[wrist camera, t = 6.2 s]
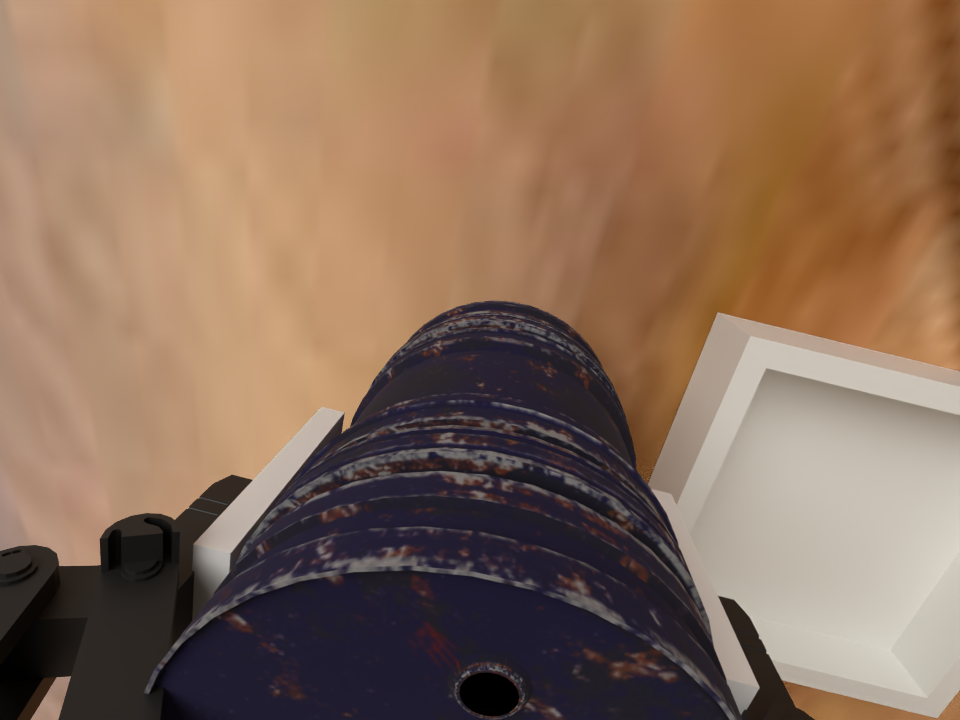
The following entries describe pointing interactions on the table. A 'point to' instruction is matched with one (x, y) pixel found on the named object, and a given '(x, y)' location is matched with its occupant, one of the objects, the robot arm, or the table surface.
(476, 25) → the table surface
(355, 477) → the dark blue canister
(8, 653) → the robot arm
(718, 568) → the tray
